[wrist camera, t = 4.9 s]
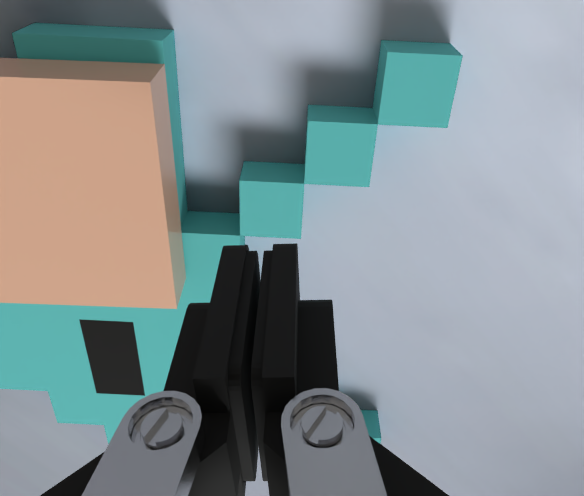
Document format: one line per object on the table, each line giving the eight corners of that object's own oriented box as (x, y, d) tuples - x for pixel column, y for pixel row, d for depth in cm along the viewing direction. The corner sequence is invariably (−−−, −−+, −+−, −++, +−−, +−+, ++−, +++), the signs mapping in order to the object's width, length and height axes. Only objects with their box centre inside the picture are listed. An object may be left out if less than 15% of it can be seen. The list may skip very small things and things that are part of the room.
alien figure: (446, 39, 17) (-159, 8, 17) (462, 55, 16) (-215, 21, 16) (370, 429, 28) (-1, 411, 28) (375, 466, 27) (-22, 447, 27)
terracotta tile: (176, 309, 19) (150, 82, 14) (-22, 302, 19) (-112, 72, 14) (187, 274, 20) (166, 61, 16) (4, 268, 20) (-68, 53, 16)
